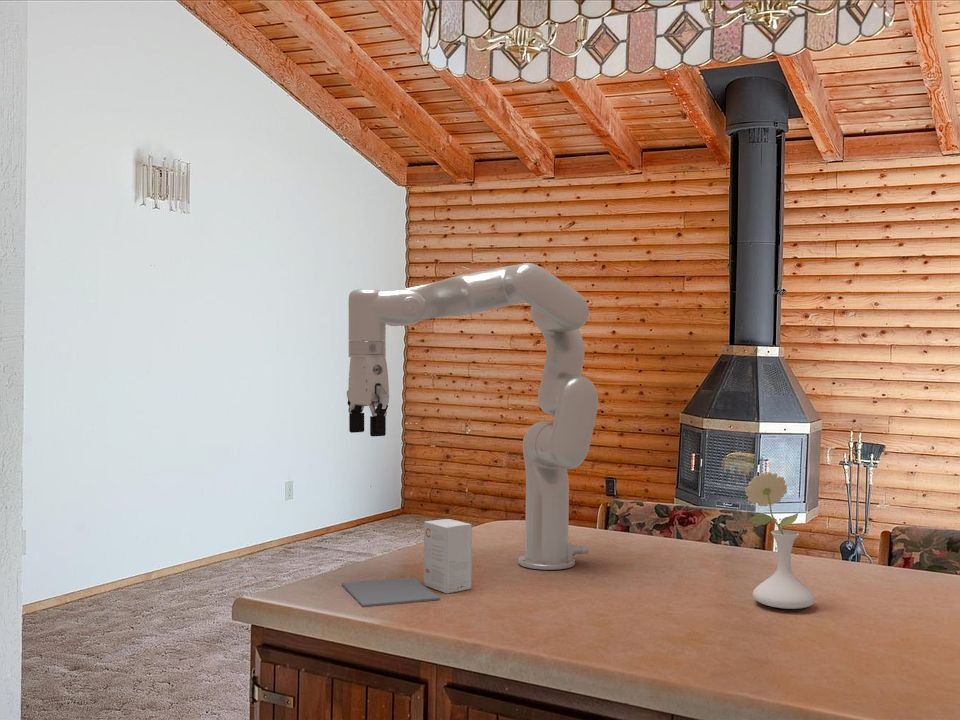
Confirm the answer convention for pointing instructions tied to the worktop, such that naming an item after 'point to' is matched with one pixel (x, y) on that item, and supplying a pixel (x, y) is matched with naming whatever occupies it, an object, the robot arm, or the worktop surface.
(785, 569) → the flower in vase
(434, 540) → the small box
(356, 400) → the robot arm
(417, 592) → the mat
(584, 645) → the worktop surface
